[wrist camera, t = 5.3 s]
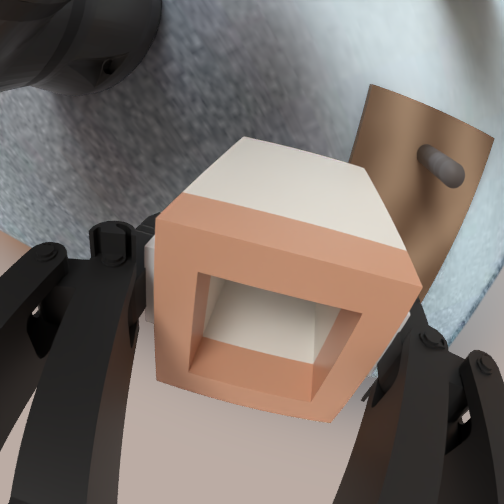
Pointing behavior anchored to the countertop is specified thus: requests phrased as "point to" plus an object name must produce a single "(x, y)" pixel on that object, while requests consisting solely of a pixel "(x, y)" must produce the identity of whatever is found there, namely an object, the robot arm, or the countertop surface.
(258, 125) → the countertop surface
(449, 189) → the pin board
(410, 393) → the robot arm
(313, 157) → the sleeve
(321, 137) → the countertop surface
